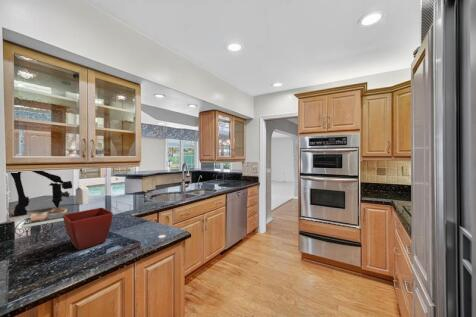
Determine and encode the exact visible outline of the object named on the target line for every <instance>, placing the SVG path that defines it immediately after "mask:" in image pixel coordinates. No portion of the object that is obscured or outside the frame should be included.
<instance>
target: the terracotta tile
mask: <svg viewBox="0 0 476 317" xmlns="http://www.w3.org/2000/svg"><path fill="white" fill-rule="evenodd" d="M47 216H48V215H47V214H46V215H39V216H33V217H32V218H29V219H30V220H29V222H30V223H32V222H38V221H45V220H47Z"/></svg>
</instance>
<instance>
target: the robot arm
mask: <svg viewBox="0 0 476 317" xmlns="http://www.w3.org/2000/svg"><path fill="white" fill-rule="evenodd" d="M31 172H32V173H35V174H37V175H39V176H42V177H45V178H46V179H48V180H50V181H51V183H49V185H48V186H49V187H50V186H51V189H52V191H51V192H52V198H51V202H52V203H53V205H54V206H55V207H56V208H60V207H59V206H60V202H62V201H63V197H65V198H69V197H70V192H68V191H67V190H69V189H73V182H72V181H71V180H69V181H64V180H62V178H61V176H60V175H58V174H54V173H53V174H52V173H49V172H47V171H44V170H42V171H31ZM9 173H10V172H9ZM10 175H11V177H12V179H13V181H14V185H15V189H16V193H17V200H18V201H17V203H16V205H14V209H13V216H14V217H23V216H26V215H28V209H27V207H28V206H29V204H30V203H31V201H30V200H29V199H30V198H29V197H30V196H26V194H25V191H24V187H23V183H22V179H21V178H22V177H21V175H22V172H18V173H10ZM62 189H63V190H65V191H64V192H63V191H62Z"/></svg>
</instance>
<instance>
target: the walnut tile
mask: <svg viewBox="0 0 476 317" xmlns="http://www.w3.org/2000/svg"><path fill="white" fill-rule="evenodd" d="M64 209H65V207H63V206H62V207H58V208H51V209H50V211H51V214H53V215H56V214H55V213H59V214H62V213H61V212H64Z"/></svg>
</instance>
